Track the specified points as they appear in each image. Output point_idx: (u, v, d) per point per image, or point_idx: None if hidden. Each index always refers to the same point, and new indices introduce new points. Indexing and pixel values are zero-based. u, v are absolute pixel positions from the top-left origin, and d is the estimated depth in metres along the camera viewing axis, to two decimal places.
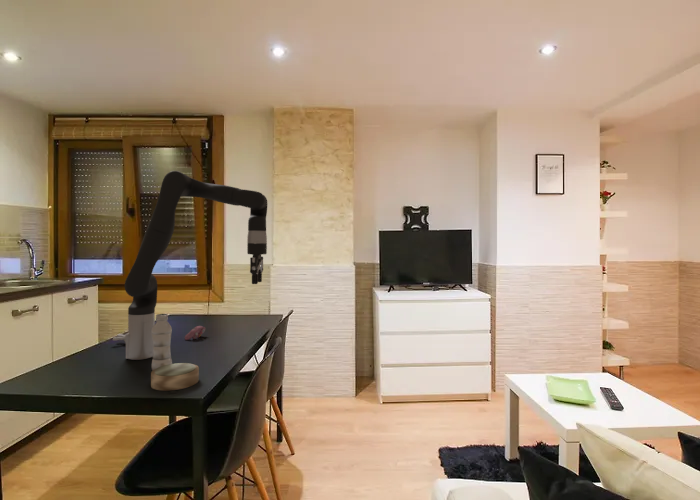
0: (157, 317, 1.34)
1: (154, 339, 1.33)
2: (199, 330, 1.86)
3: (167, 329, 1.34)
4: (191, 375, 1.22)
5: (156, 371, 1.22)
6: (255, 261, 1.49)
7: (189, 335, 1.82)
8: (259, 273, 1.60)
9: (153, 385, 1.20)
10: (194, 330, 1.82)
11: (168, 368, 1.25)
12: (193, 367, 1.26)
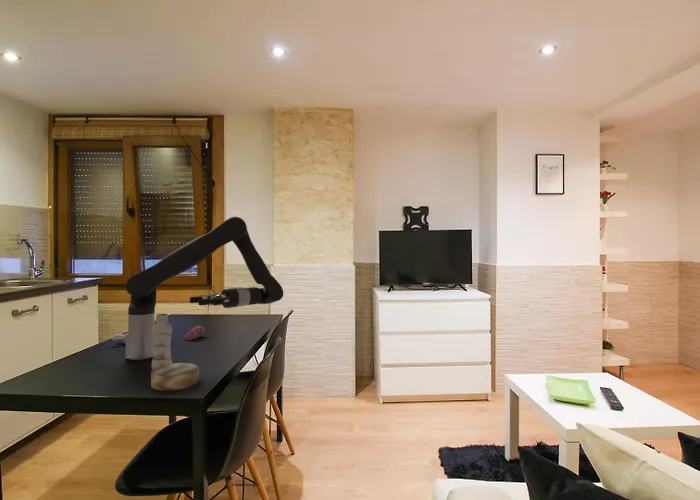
0: (157, 317, 1.34)
1: (154, 339, 1.33)
2: (198, 330, 1.86)
3: (167, 329, 1.34)
4: (191, 375, 1.22)
5: (156, 371, 1.22)
6: (225, 302, 1.44)
7: (188, 335, 1.82)
8: None
9: (153, 385, 1.20)
10: (193, 330, 1.82)
11: (168, 368, 1.25)
12: (193, 367, 1.26)
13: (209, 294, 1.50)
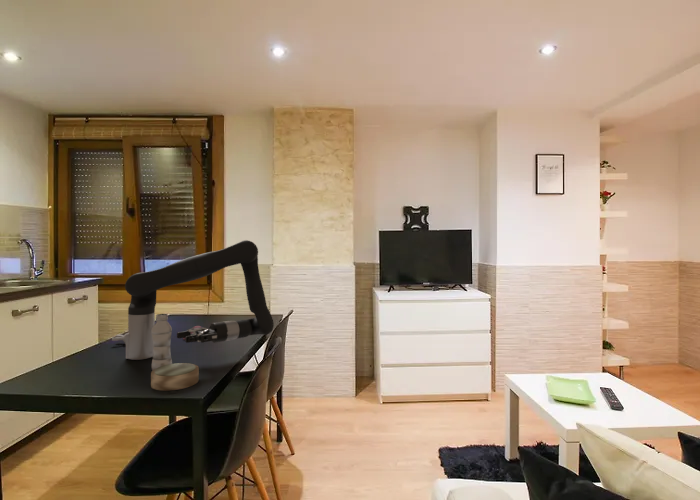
0: (157, 317, 1.34)
1: (154, 339, 1.33)
2: None
3: (167, 329, 1.34)
4: (191, 375, 1.22)
5: (156, 371, 1.22)
6: (213, 339, 1.41)
7: None
8: (187, 334, 1.45)
9: (153, 385, 1.20)
10: None
11: (168, 368, 1.25)
12: (193, 367, 1.26)
13: (197, 329, 1.47)
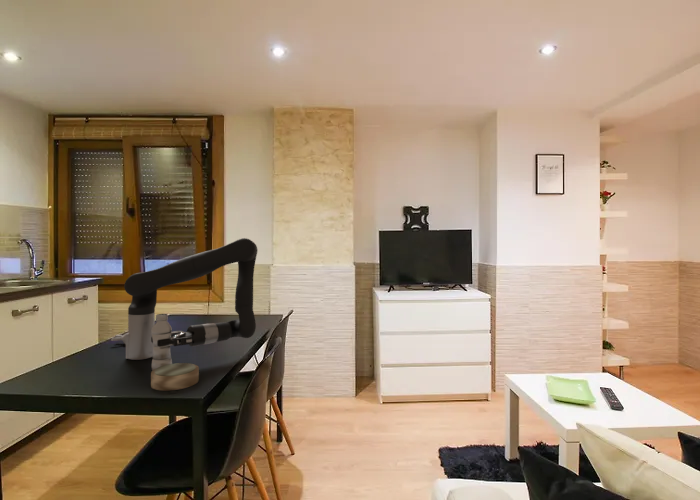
0: (157, 317, 1.34)
1: (154, 339, 1.33)
2: None
3: (167, 329, 1.34)
4: (191, 375, 1.22)
5: (156, 371, 1.22)
6: (187, 343, 1.35)
7: None
8: None
9: (153, 385, 1.20)
10: None
11: (168, 368, 1.25)
12: (193, 367, 1.26)
13: (173, 332, 1.40)
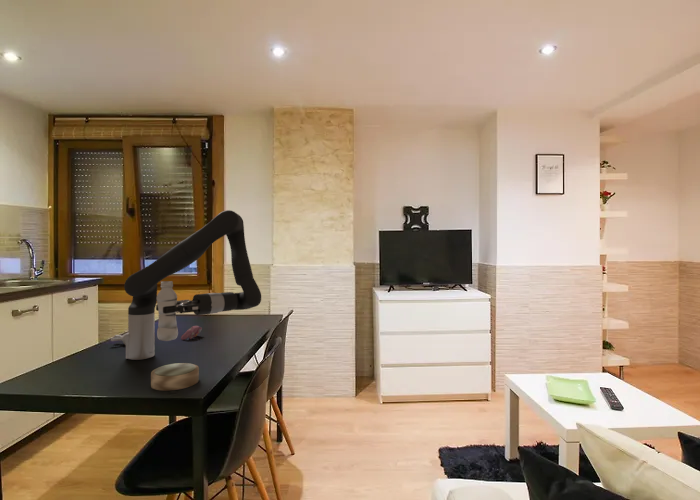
0: (162, 284, 1.31)
1: (159, 306, 1.30)
2: (195, 330, 1.86)
3: (173, 296, 1.31)
4: (191, 375, 1.22)
5: (156, 371, 1.22)
6: (193, 310, 1.32)
7: (185, 335, 1.82)
8: None
9: (153, 385, 1.20)
10: (190, 330, 1.83)
11: (168, 368, 1.25)
12: (193, 367, 1.26)
13: (178, 301, 1.37)
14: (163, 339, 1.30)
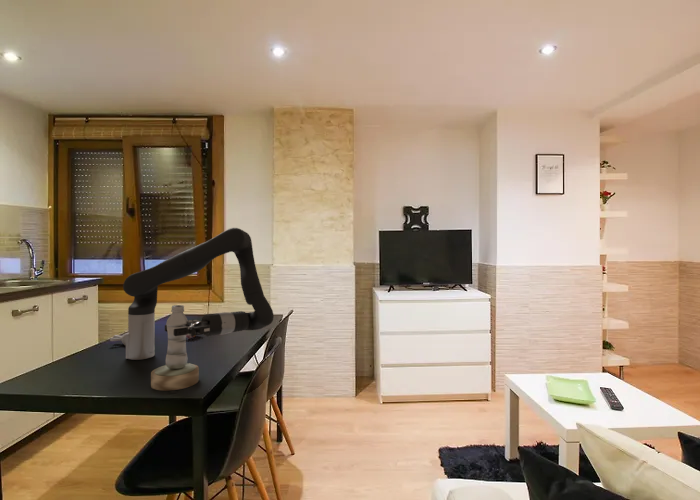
0: (173, 308, 1.24)
1: (169, 332, 1.23)
2: None
3: (183, 321, 1.24)
4: (191, 375, 1.22)
5: (156, 371, 1.22)
6: (205, 332, 1.25)
7: None
8: None
9: (153, 385, 1.20)
10: None
11: (168, 368, 1.25)
12: (193, 367, 1.26)
13: None
14: (172, 367, 1.22)
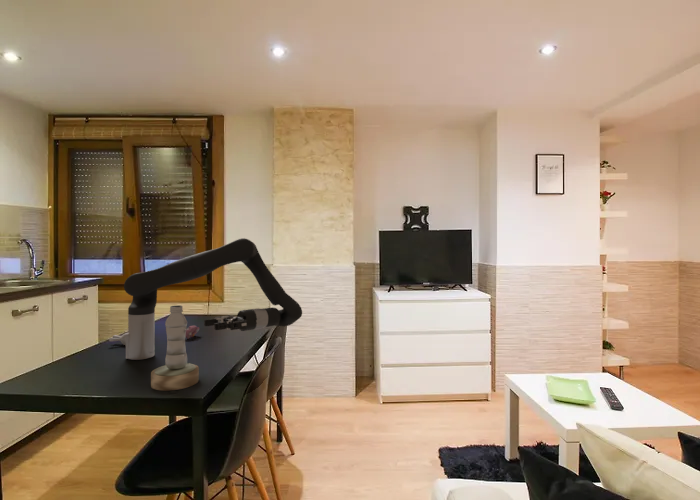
0: (171, 309, 1.24)
1: (168, 333, 1.23)
2: (193, 330, 1.86)
3: (182, 321, 1.24)
4: (191, 375, 1.22)
5: (156, 371, 1.22)
6: (243, 326, 1.33)
7: None
8: (214, 322, 1.38)
9: (153, 385, 1.20)
10: (188, 330, 1.83)
11: None
12: (193, 367, 1.26)
13: (225, 316, 1.39)
14: (171, 367, 1.22)
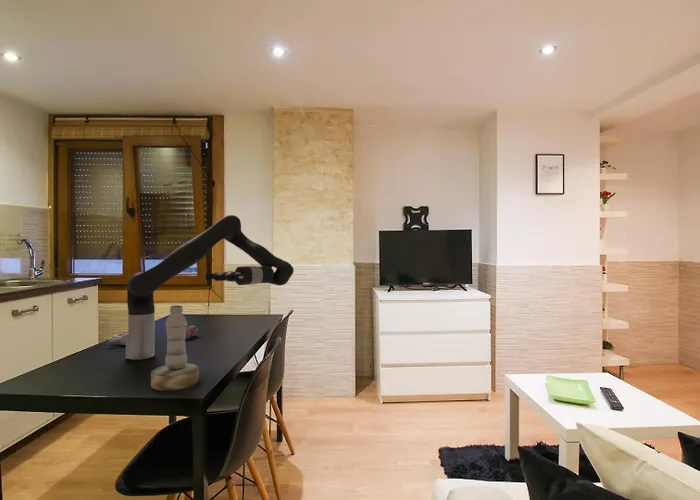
0: (171, 309, 1.24)
1: (168, 333, 1.23)
2: (192, 330, 1.87)
3: (182, 321, 1.24)
4: (191, 375, 1.22)
5: (156, 371, 1.22)
6: (240, 279, 1.50)
7: None
8: None
9: (153, 385, 1.20)
10: (187, 330, 1.83)
11: None
12: (193, 367, 1.26)
13: None
14: (171, 367, 1.22)
